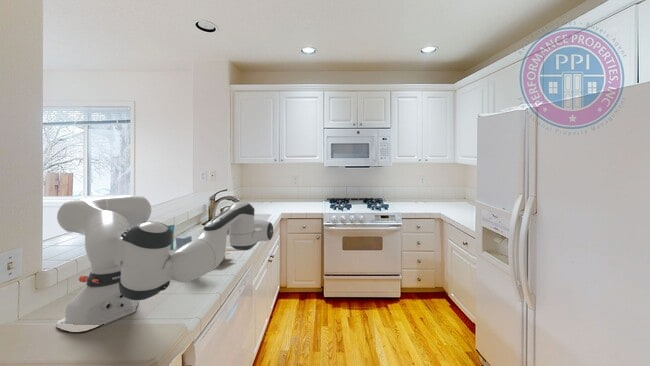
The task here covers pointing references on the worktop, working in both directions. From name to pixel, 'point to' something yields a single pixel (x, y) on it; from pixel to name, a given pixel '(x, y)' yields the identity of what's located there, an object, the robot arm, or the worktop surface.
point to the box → (182, 241)
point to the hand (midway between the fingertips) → (213, 226)
